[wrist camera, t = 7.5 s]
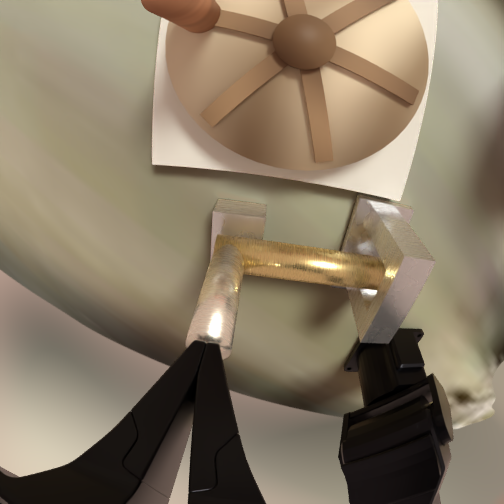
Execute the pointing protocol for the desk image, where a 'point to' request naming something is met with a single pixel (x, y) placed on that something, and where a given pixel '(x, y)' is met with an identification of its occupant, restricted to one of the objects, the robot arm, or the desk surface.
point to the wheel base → (221, 158)
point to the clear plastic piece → (360, 242)
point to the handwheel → (297, 75)
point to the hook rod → (274, 266)
